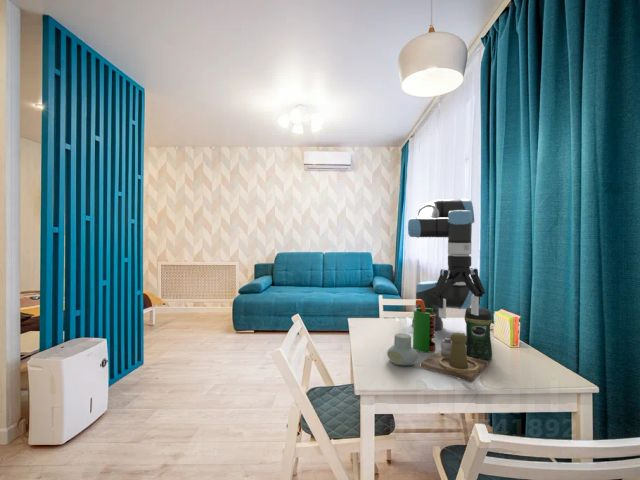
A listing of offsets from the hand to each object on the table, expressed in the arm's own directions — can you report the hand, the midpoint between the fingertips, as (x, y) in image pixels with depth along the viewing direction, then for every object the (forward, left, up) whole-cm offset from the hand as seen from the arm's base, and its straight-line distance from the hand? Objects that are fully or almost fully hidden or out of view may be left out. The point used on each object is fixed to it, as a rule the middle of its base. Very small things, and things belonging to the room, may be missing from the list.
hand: (458, 316), depth 111 cm
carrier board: (-2, -2, -19) cm, 19 cm away
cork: (0, 0, -17) cm, 17 cm away
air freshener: (+8, -17, -19) cm, 27 cm away
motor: (-12, -18, -19) cm, 28 cm away
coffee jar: (-18, +1, -19) cm, 26 cm away
